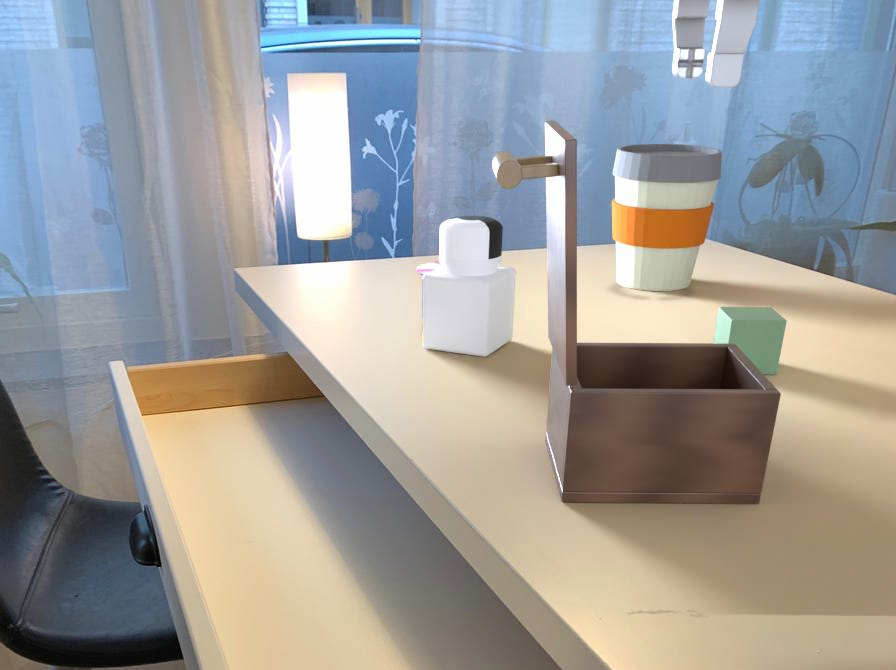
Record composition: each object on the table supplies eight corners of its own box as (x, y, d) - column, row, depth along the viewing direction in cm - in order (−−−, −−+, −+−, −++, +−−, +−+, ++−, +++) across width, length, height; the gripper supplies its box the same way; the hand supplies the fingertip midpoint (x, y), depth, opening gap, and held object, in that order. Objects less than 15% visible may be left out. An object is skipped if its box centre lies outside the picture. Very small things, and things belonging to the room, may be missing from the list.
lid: (555, 120, 68) (488, 126, 68) (576, 139, 58) (498, 146, 58) (557, 336, 76) (497, 341, 76) (577, 385, 66) (507, 390, 66)
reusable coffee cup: (684, 299, 119) (704, 159, 111) (585, 286, 125) (598, 151, 117) (718, 279, 128) (738, 148, 120) (624, 267, 134) (638, 141, 126)
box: (718, 443, 80) (735, 343, 76) (759, 504, 70) (781, 393, 66) (545, 441, 80) (552, 342, 76) (561, 502, 70) (571, 391, 66)
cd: (472, 257, 138) (472, 256, 138) (519, 273, 130) (519, 272, 130) (400, 266, 134) (400, 265, 133) (444, 283, 125) (444, 282, 125)
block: (761, 359, 99) (771, 306, 96) (776, 374, 95) (787, 320, 92) (710, 358, 99) (718, 306, 96) (723, 374, 95) (731, 320, 92)
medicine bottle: (450, 331, 107) (452, 209, 101) (513, 340, 104) (520, 215, 98) (420, 348, 102) (421, 220, 95) (486, 358, 99) (491, 227, 93)
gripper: (858, -227, 50) (803, 93, 57) (744, -166, 67) (712, 73, 74) (730, -226, 50) (691, 93, 57) (648, -165, 67) (626, 74, 74)
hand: (702, 82), depth 66 cm, fingers open, 8 cm apart
